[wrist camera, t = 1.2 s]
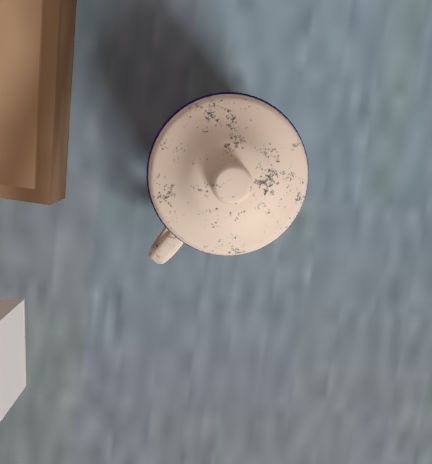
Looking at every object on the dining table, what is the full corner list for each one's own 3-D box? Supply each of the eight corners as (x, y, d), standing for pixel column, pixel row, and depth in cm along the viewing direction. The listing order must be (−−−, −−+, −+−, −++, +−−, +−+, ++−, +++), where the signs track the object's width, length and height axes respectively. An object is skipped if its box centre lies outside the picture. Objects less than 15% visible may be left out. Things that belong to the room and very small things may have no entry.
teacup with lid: (212, 79, 27) (220, 37, 16) (302, 158, 29) (365, 171, 18) (116, 203, 29) (63, 243, 18) (205, 271, 31) (207, 347, 20)
